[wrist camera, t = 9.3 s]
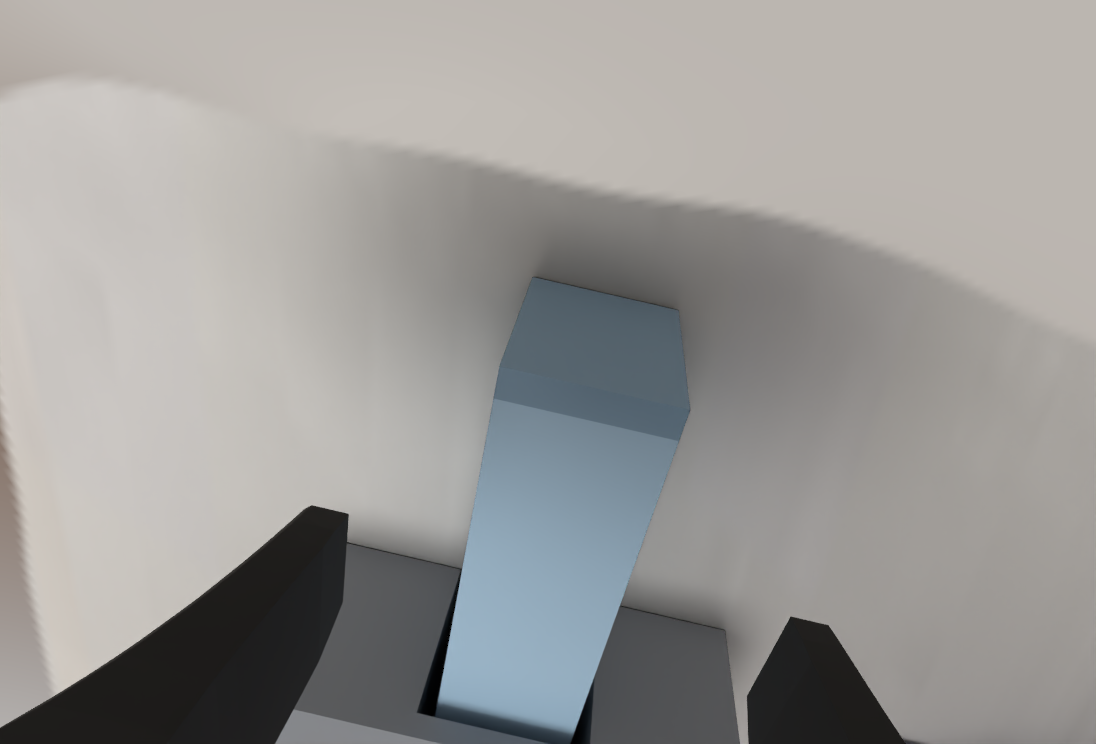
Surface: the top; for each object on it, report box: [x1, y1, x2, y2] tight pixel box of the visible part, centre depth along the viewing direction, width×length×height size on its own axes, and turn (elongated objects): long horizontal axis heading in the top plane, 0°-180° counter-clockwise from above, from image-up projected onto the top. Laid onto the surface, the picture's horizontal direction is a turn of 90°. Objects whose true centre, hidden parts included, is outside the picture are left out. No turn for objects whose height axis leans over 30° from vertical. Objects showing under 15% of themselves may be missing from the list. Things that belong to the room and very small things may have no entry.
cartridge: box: [435, 277, 690, 744], centre depth 19 cm, size 4×13×5 cm, turn 169°
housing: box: [275, 543, 740, 744], centre depth 24 cm, size 14×9×6 cm, turn 79°
